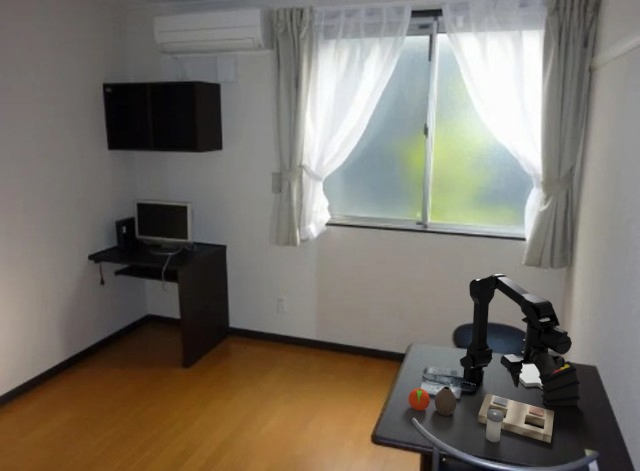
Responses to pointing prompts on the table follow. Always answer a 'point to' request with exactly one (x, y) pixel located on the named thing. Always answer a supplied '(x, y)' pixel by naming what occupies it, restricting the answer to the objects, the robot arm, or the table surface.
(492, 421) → the plug
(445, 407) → the vase
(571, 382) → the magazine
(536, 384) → the mounting plate
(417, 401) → the clementine
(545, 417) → the socket board
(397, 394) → the table surface
